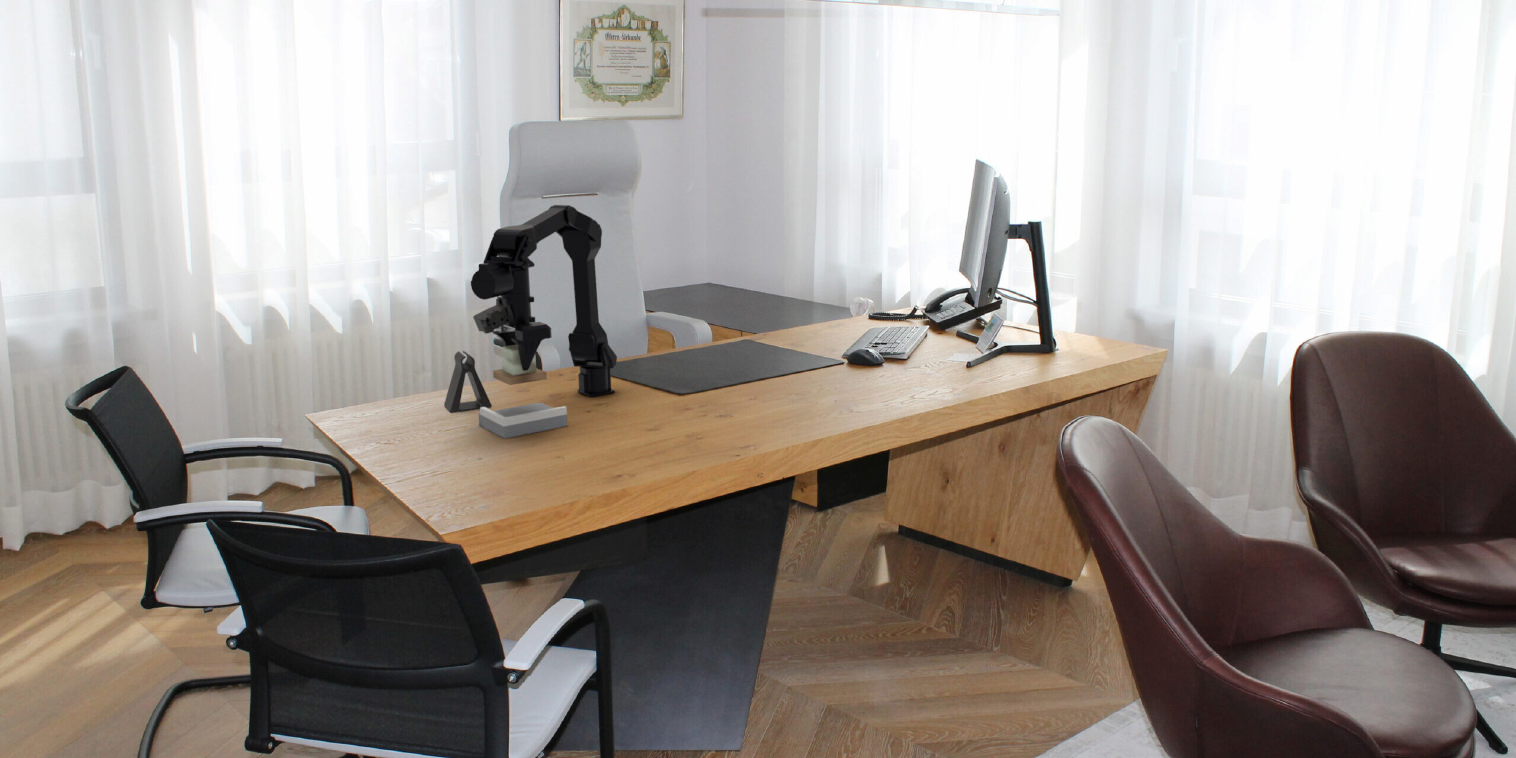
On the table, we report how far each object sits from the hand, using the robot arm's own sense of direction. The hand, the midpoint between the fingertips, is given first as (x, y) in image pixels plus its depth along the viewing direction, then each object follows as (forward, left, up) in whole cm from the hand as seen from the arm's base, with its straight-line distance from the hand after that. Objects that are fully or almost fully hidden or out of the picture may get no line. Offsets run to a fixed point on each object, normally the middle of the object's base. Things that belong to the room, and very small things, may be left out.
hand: (519, 367), depth 222 cm
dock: (0, 0, -12) cm, 12 cm away
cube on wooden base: (0, 0, -2) cm, 2 cm away
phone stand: (+3, -21, -12) cm, 24 cm away
